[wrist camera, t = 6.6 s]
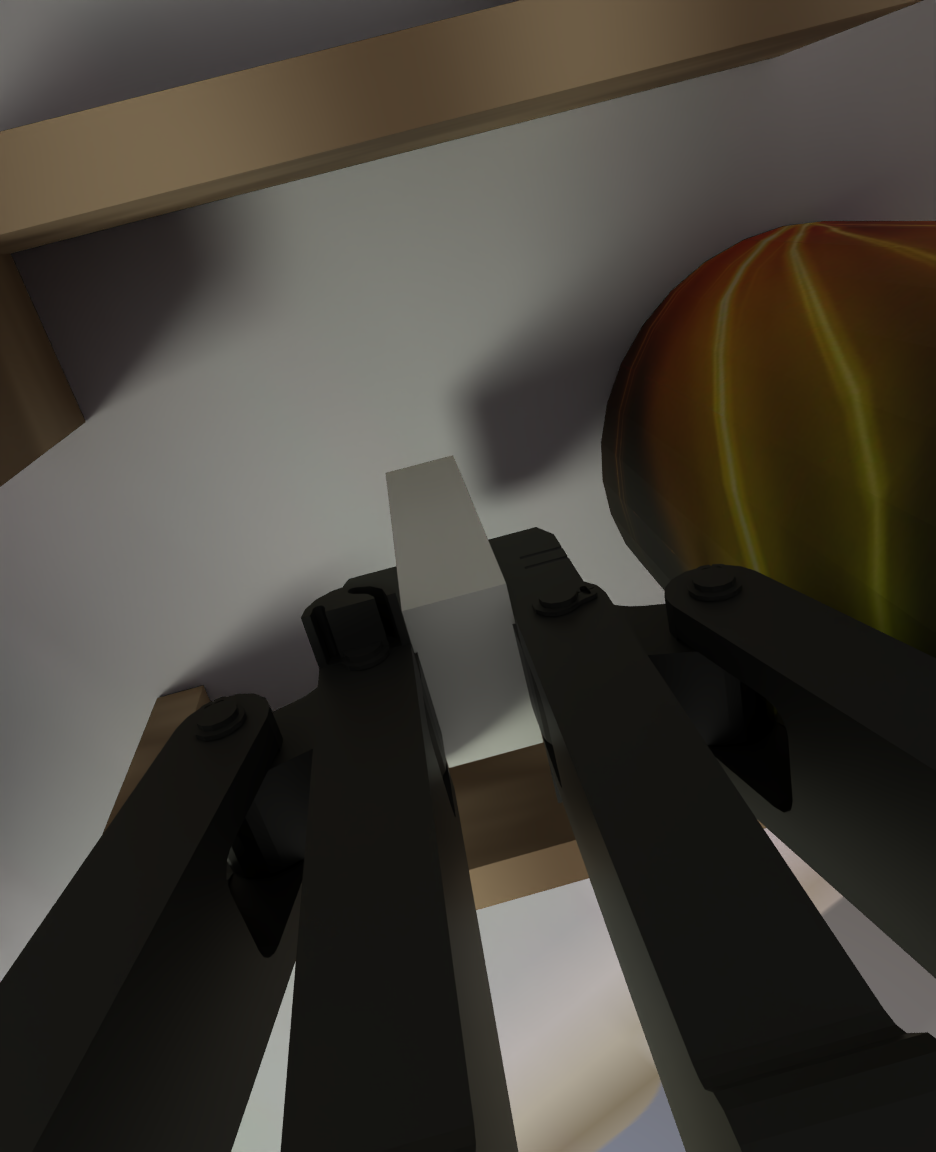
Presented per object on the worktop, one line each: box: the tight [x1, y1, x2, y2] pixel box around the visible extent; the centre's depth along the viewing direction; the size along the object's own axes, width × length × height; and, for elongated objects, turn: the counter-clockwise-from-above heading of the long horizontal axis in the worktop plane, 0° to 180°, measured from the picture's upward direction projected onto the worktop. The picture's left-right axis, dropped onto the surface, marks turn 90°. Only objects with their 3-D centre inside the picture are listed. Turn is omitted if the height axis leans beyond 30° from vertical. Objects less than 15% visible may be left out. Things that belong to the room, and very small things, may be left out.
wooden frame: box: [0, 0, 923, 910], centre depth 17 cm, size 17×16×5 cm
